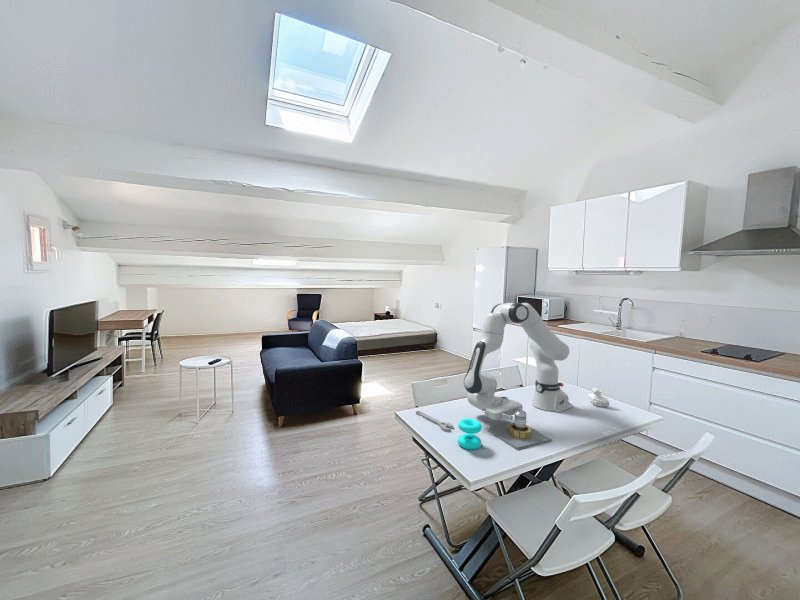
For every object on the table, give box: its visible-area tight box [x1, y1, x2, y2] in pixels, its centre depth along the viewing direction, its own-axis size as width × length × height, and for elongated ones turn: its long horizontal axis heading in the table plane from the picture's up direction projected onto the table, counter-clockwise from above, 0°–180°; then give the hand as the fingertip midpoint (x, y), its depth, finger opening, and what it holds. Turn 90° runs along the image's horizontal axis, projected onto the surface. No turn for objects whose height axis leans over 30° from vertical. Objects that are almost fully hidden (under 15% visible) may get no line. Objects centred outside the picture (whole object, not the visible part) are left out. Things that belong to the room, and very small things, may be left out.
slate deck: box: [488, 424, 553, 451], centre depth 151 cm, size 20×18×1 cm
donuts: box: [457, 418, 483, 451], centre depth 143 cm, size 10×10×10 cm
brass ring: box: [508, 422, 532, 439], centre depth 151 cm, size 10×10×3 cm
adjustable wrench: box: [415, 410, 454, 433], centre depth 166 cm, size 25×6×2 cm, turn 34°
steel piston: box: [513, 410, 527, 431], centre depth 151 cm, size 5×5×10 cm
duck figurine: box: [588, 387, 610, 408], centre depth 189 cm, size 12×8×11 cm
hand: (518, 416), depth 152 cm, fingers open, 8 cm apart
